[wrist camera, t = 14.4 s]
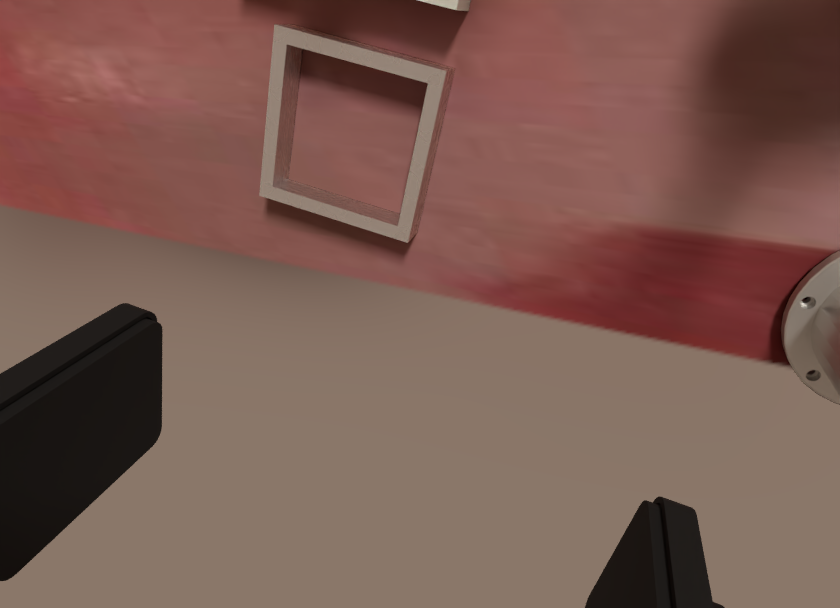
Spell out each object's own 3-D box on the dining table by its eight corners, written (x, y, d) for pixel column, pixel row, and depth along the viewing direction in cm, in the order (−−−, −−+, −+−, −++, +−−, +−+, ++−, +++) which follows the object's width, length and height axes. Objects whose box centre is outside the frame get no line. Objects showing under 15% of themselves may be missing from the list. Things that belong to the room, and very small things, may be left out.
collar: (455, 68, 39) (446, 70, 37) (417, 232, 45) (407, 243, 43) (292, 24, 41) (274, 24, 39) (275, 187, 47) (259, 195, 45)
